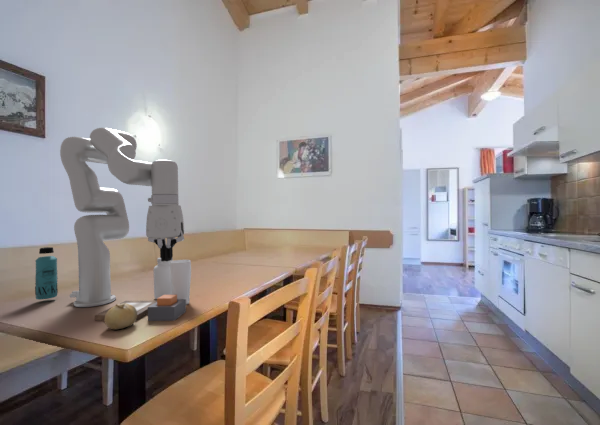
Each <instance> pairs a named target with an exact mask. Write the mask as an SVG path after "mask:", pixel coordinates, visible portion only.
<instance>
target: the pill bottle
mask: <svg viewBox="0 0 600 425" xmlns="http://www.w3.org/2000/svg"><path fill="white" fill-rule="evenodd" d="M156 259H157V260H156V264H157V265H155V266H154V267H153V296H154V300H157V298H159V297H161V296H163V295H172V285H171V276H170V262H171V261H174V259H173V257H172V260H170V261H161V258H160V257H157V258H156Z"/></svg>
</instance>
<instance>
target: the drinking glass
mask: <svg viewBox="0 0 600 425" xmlns="http://www.w3.org/2000/svg"><path fill="white" fill-rule="evenodd" d="M191 262H192V260H190V259H175V260H173V261H171V262H170V276H171V285H172V295H177V299H186V306H187V305H189V304H190V299H191V298H190V295H191V279H192V263H191Z"/></svg>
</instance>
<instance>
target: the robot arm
mask: <svg viewBox="0 0 600 425" xmlns="http://www.w3.org/2000/svg"><path fill="white" fill-rule="evenodd" d="M137 146H138V144H137V141H136V138H135V136H133V135H132V134H130V133H129V132H125V131H123V130H122V131H121V130H117V129H112V128H110V127H109V128H108V127H97V128H94V129H93V130H92V131H91V132H90V134H89V138H88V137H87V138H86V137H82V136H70V137H69V136H68V137H65V138H64V139H63V140H62V142H61V144H60V150H59V155H60V160H61V163H62V166H63V168H64V169H65V172H66V174H67V177H68V179H69V184H70V190H71V194H72V199H73V202H74V207H75V208H76V209H77V211H78V212H81V213H87V215H83V216H80V217H79V218H77V219H76V220H75V222H74V225H73V226H74V227H73V231H74V235H75V240H76V245H77V258H78V260H77V261H78V262H77V263H78V264H77V265H78V290H72V292H71V293H70V294H69V297H70V298H75V300H74V302H73V306H74V307H77V308H90V307H96V306H103V305H107V304H110V303H112V302H115V300H116V299H117V296H116V295H115V294H112V293H111V292H112V290H111V288H112V286H111V282H112V280H111V253H110V249H109V248H108V246H107V245H106V244H105V243H104V241H111V240H113V241H114V240H121V239H123V238H125V237H127V236H128V234H129V231H130V222H129V216H128V213H127V209H126V204H125V199H124V197H123V194H122V193H121V192H120V191H119V190H117V189H115V188H110V187H101V185H100V184H99V180H98V176H97V174H96V173H95V171H94V170H93V168H92V167H91V166H89V164H87V163H88V162H90V163H95V164H104V165H107V166H108V170H109V172H110V173H111V175H112V176H113V177H115V178H116V179H117V180H118V181H120V182H122V183H123V184H126V185H130V186H142V187H143V186H144V187H145V186H146V187H151V196H150V197H148V198H147V201H148V203H151V205H148V210H147V214H146V224H145V227H146V228H145V235H146V237H147V238H148V239H147V241H148V242H150V243H155V244H156V245H157V247H158V249H159V254H160V255H159V256H160V257H159V258H161V261H170V260H172V258H173V256H174V254H173V253H174V252H173V250H174V249H173V248H174V247H175V245H176V244H177V243H179V242H183V241H184V240H185V237H184V233H185V222H184V215H183V210H182V206H181V205H180V204H179V203H180V202H179V167H178V166H179V165H178V164H177V162H176V161H173V160H168V159H158V160H153V161H152V162H148V161H143V160H135V158H136V151H137ZM88 213H89V214H88ZM90 213H91V214H90ZM93 213H94V214H93ZM95 213H99V214H95ZM101 213H103V214H101ZM104 213H105V214H104Z"/></svg>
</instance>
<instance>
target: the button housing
mask: <svg viewBox="0 0 600 425" xmlns="http://www.w3.org/2000/svg"><path fill="white" fill-rule="evenodd" d="M186 306H187V305H186V299H177V302H176V303H175V304H173V305H164V306H157V302H156V303H154V304H152V305H151V306H149V307H148V314H147V321H148V322H149V321H153V322H154V321H155V322H156V321H158V322H159V321H161V322H162V321H166V322H167V321H168V322H169V321H171V322H172V321H176V320H177V319H178V318H180V317H181V316H183V314H185V313H186V312H187V307H186Z"/></svg>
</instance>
